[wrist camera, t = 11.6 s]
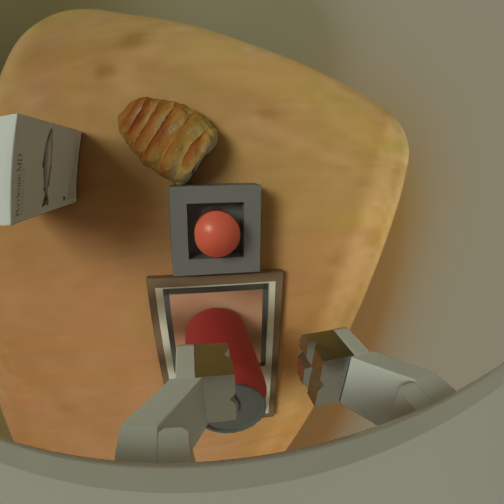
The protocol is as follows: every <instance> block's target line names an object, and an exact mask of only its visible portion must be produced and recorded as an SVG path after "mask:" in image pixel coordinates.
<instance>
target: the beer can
mask: <svg viewBox="0 0 504 504" xmlns="http://www.w3.org/2000/svg"><path fill="white" fill-rule="evenodd" d="M208 343H228V347H229V358H231V360H232V364H233V369H234V373H235V391H236V393H235V394H234V398H235V402H236V420H229V421H221V422H211V423H208V425H207V426H206V429H209V430H211V431H214V432H220V433H234V432H238V431H242V430H245V429H247V428H249V427H252V426H253V425H255V424H256V423H257V422H258V421H260V420H261V418H262V417H263V415H264V414H265V411H266V407H267V405H266V401H265V400H266V395H267V386H266V382H265V378H264V375H263V373H262V370H261V367H260V365H259V362H258V359H257V356H256V354H255V351H254V348H253V345H252V342H251V340H250V337H249V334H248V331H247V328H246V326H245V323H244V322H243V320H242V319H241V317H240V316H238V315H237V314H236V313H234V312H233V311H230V310H227V309H224V308H210V309H206V310H203V311H201V312H199V313H198V314H196V315H195V316H194V317H193V318H192V319H191V320H190V321H189V322H188V325H187V327H186V330H185V344H193V345H194V344H208Z"/></svg>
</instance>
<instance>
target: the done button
mask: <svg viewBox="0 0 504 504" xmlns="http://www.w3.org/2000/svg"><path fill="white" fill-rule="evenodd" d="M194 235H195V242H196V244H197V246H198V248H199V249H200V250H201V251H202V252H203V253H204V254H206V255H208V256H211V257H223V256H226V255H228V254H230V253H231V252H232V251H233V250H234V249H235V248H236V247H237V245H238V243H239V240H240V229H239V226H238V224H237V222H236V221H235V220H234V218H233V217H232V216H231V215H230V214H229V213H227V212H226V211H224V210H220V209H212V210H208V211H206V212H204V213H203V214H202V215H201V216H200V217H199V218H198V219H197V221H196V224H195V228H194Z"/></svg>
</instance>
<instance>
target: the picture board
mask: <svg viewBox="0 0 504 504" xmlns="http://www.w3.org/2000/svg"><path fill="white" fill-rule="evenodd" d="M146 280H147V288H148V296H149V303H150V310H151V317H152V323H153V329H154V335H155V341H156V347H157V352H158V357H159V363H160V367H161V372H162V377H163V382H164V384H165V383H166V382H167V381H168V380H170V379H175V367H176V347H177V345H184V344H185V330H186V327H187V325H188V322H189V321H190V320H191V319H192V318H193V317H194V316H195V315H196V314H198V313H199V312H201V311H203V310H206V309H210V308H224V309H227V310H230V311H233V312H234V313H236V314H237V315H238V316H240V317H241V319H242V320H243V322H244V323H245V326H246V328H247V331H248V334H249V337H250V340H251V342H252V345H253V348H254V351H255V354H256V356H257V359H258V362H259V365H260V367H261V370H262V373H263V375H264V378H265V382H266V386H267V395H266V400H265V401H266V405H267V407H266V411H265V414H264V415H263V417H262V418H264V417H271V416H274V405H275V393H276V381H277V367H278V354H279V339H280V323H281V306H282V287H283V271H282V270H281V269H274V270H260V272H244V273H227V274H208V275H188V276H174V275H162V276H147V279H146Z"/></svg>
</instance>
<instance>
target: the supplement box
mask: <svg viewBox="0 0 504 504" xmlns="http://www.w3.org/2000/svg"><path fill="white" fill-rule="evenodd" d="M81 135H82V132H81V131H79V130H76V129H72V128H68V127H64V126H61V125H57V124H54V123H50V122H47V121H43V120H40V119H36V118H32V117H29V116H25V115H21V114H12V115H5V116H0V225H4V226H10V225H14V224H17V223H19V222H22V221H24V220H27V219H30V218H32V217H35V216H38V215H41V214H43V213H46V212H49V211H52V210H54V209H57V208H60V207H63V206H66V205H69V204H72V203H76V201H77V198H76V186H77V167H78V157H79V148H80V141H81Z"/></svg>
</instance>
